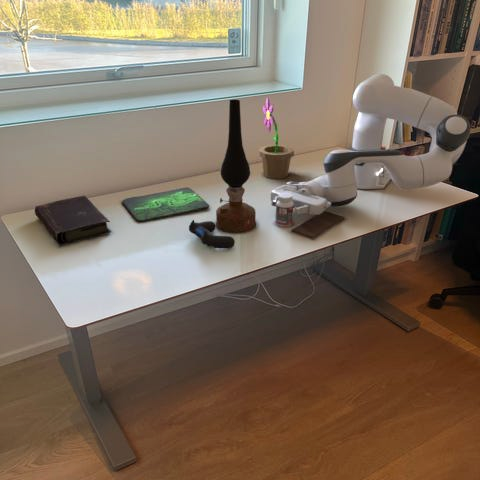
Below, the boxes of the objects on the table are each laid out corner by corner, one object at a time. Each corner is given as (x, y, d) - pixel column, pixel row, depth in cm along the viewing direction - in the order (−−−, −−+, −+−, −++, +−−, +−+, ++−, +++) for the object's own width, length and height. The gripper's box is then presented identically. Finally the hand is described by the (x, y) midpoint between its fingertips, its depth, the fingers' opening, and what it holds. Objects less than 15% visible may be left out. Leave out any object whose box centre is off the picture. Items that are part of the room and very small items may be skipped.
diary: (57, 247, 157) (53, 232, 154) (36, 219, 174) (33, 205, 171) (114, 233, 165) (112, 219, 162) (89, 208, 182) (86, 194, 179)
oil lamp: (259, 229, 175) (283, 106, 157) (246, 240, 162) (270, 107, 144) (222, 219, 178) (242, 97, 160) (206, 229, 165) (225, 97, 147)
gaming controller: (206, 236, 168) (182, 228, 162) (214, 221, 166) (189, 211, 160) (230, 257, 156) (205, 248, 150) (239, 240, 154) (213, 231, 148)
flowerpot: (253, 170, 215) (254, 95, 198) (285, 167, 218) (288, 92, 201) (265, 182, 204) (267, 102, 186) (298, 178, 207) (303, 100, 190)
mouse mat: (137, 222, 171) (137, 220, 171) (120, 200, 187) (120, 198, 187) (211, 208, 181) (211, 205, 180) (189, 188, 197) (188, 186, 197)
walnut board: (323, 213, 178) (323, 210, 177) (344, 219, 174) (344, 216, 173) (291, 232, 165) (291, 229, 165) (313, 239, 161) (313, 236, 160)
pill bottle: (291, 227, 168) (293, 199, 162) (274, 226, 169) (275, 197, 163) (293, 220, 173) (295, 192, 167) (276, 219, 174) (277, 191, 168)
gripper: (333, 212, 172) (309, 225, 163) (284, 197, 183) (260, 208, 174) (334, 194, 168) (311, 206, 160) (285, 180, 179) (261, 191, 171)
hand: (284, 207), depth 167 cm, fingers open, 8 cm apart
